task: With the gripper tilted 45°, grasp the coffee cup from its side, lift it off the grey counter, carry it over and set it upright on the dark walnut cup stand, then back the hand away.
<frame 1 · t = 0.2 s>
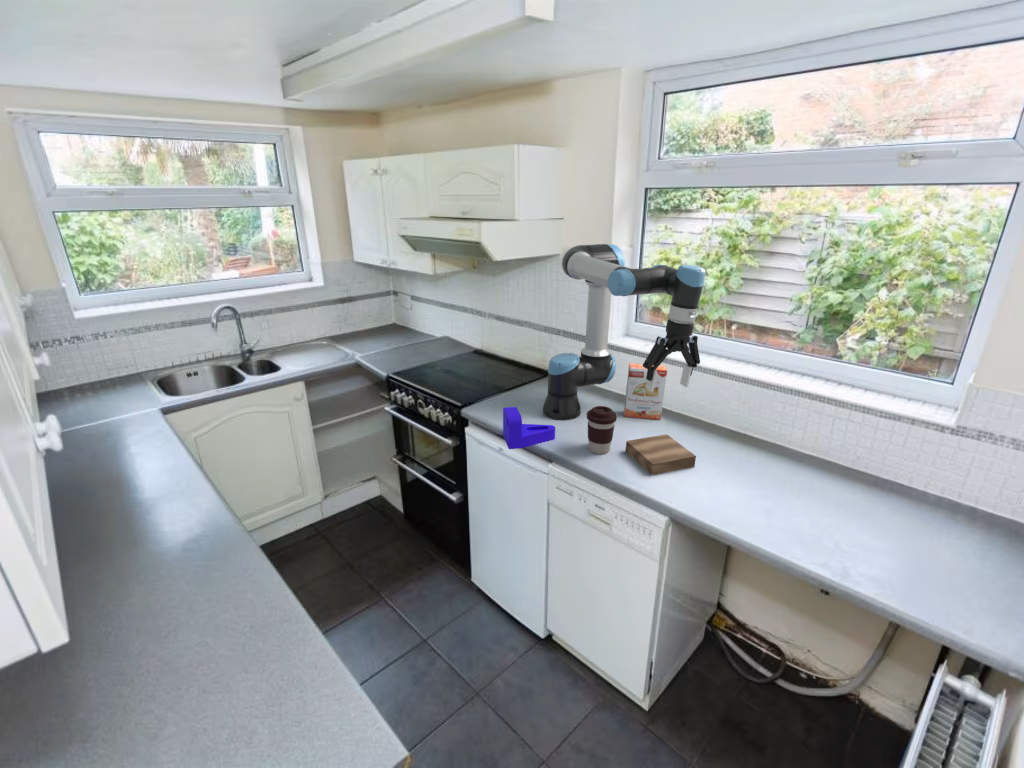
hand: (666, 387, 154), 27 cm above the table, tool pointing down, fingers open, 13 cm apart
bracket: (530, 440, 180), on the table
cracker box: (642, 416, 199), on the table
coffee cup: (598, 449, 174), on the table
cup stand: (658, 458, 168), on the table
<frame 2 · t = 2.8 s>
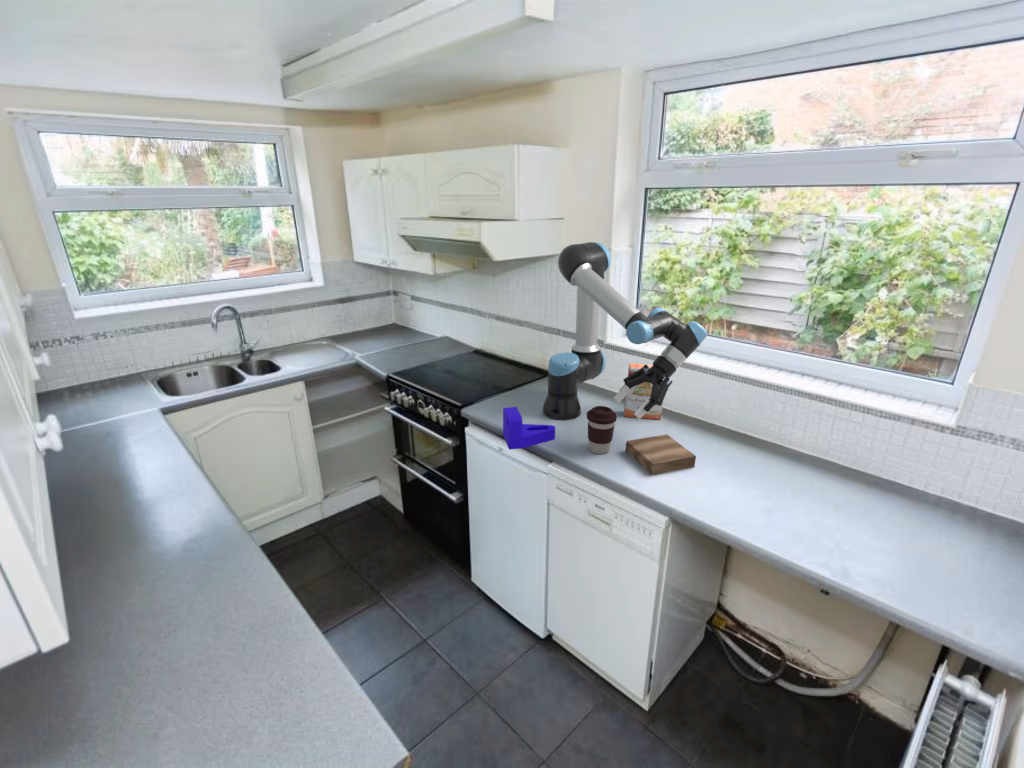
hand: (625, 408, 170), 15 cm above the table, tool tilted 45°, fingers open, 13 cm apart
nothing on the table moved.
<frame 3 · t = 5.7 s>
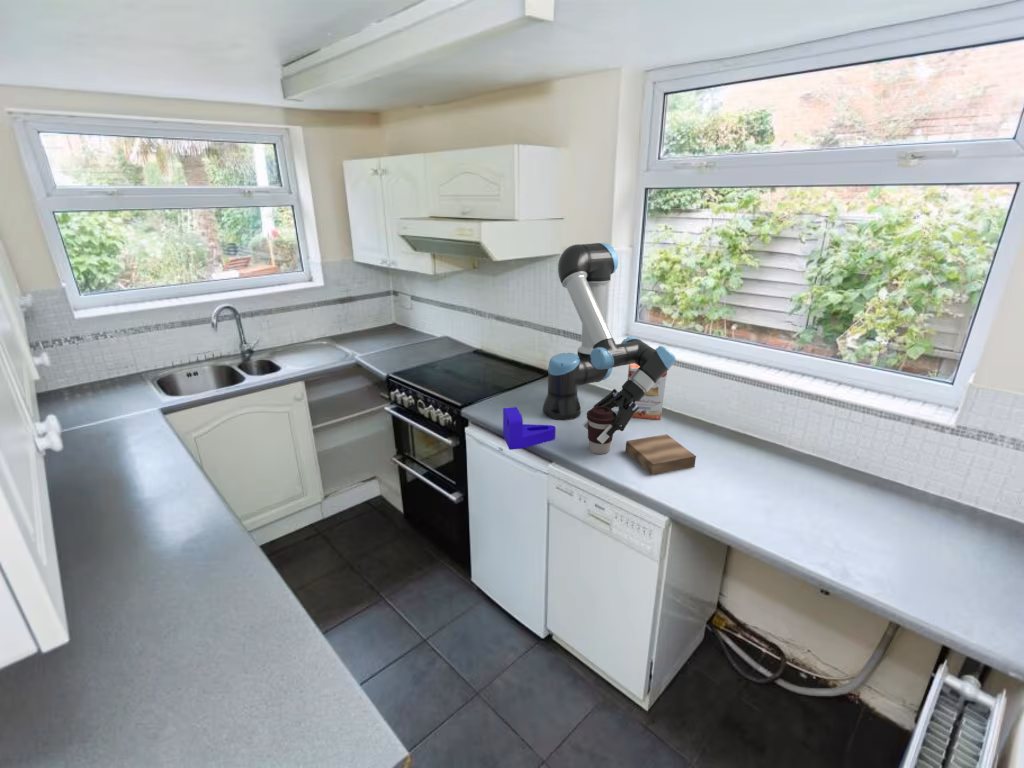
hand: (592, 434, 171), 6 cm above the table, tool tilted 45°, fingers closed on coffee cup, 10 cm apart
coffee cup: (599, 449, 174), on the table, touching gripper
everything else where it was.
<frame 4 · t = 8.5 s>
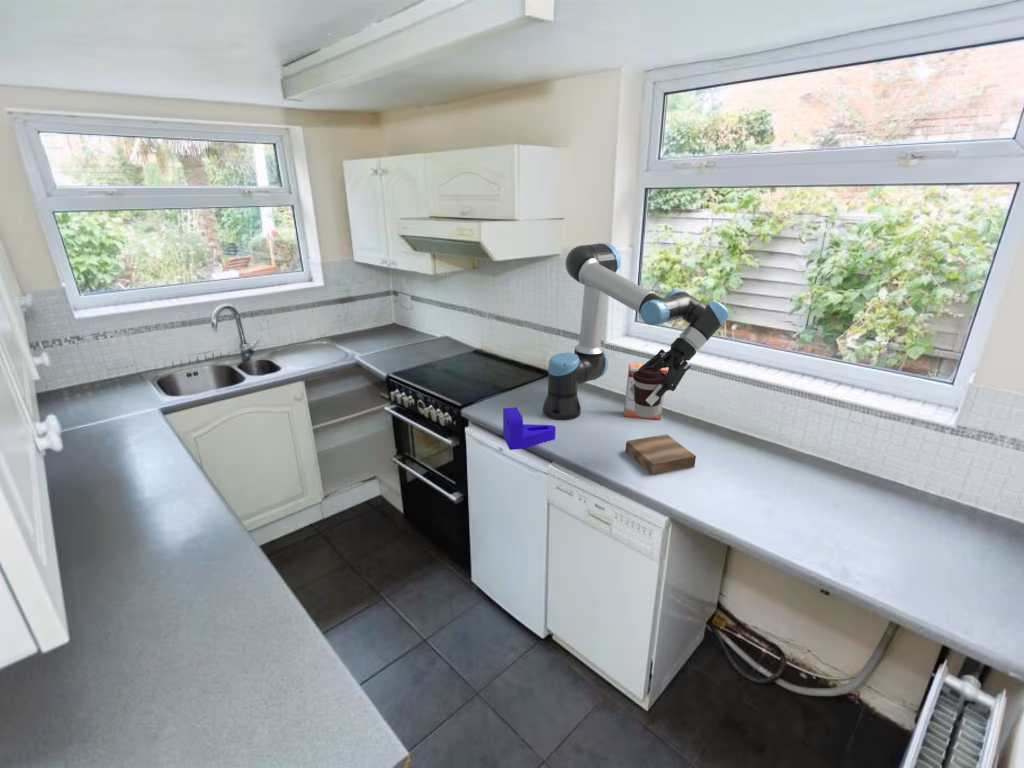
hand: (639, 396, 160), 22 cm above the table, tool tilted 45°, fingers closed on coffee cup, 10 cm apart
coffee cup: (646, 414, 163), point 16 cm above the table, touching gripper
everything else where it was.
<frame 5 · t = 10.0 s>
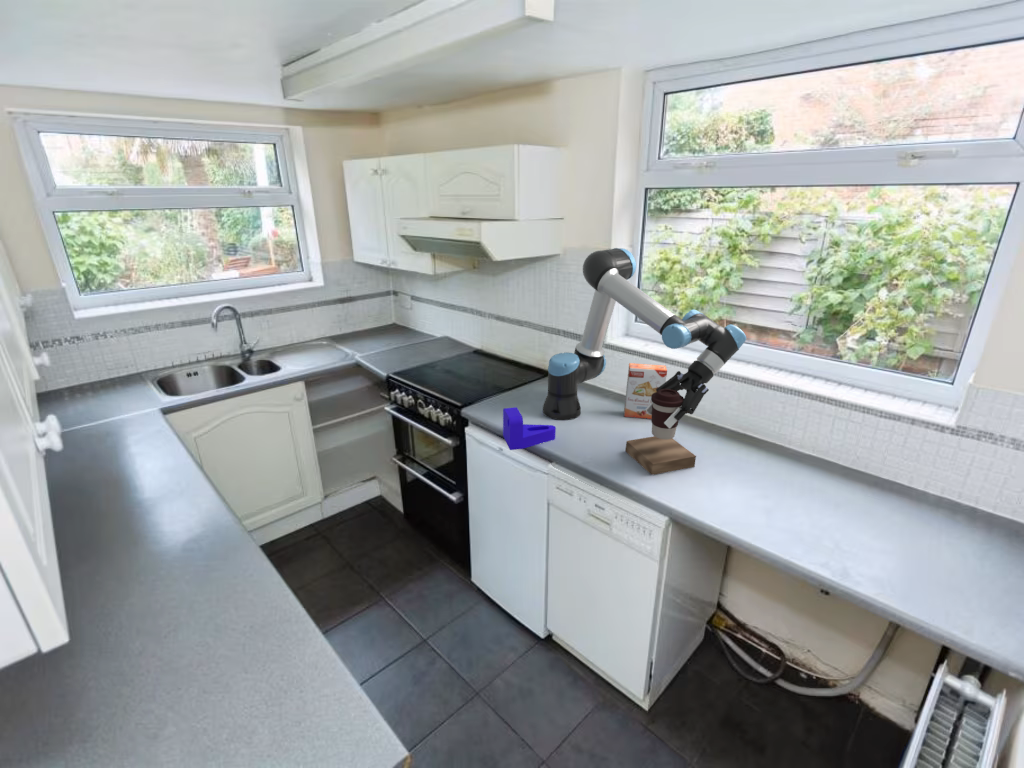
hand: (657, 418, 161), 15 cm above the table, tool tilted 45°, fingers closed on coffee cup, 10 cm apart
coffee cup: (663, 435, 164), point 9 cm above the table, touching gripper
everything else where it was.
when the fingers open (12 cm above the table, at t = 11.2 s): coffee cup drops 1 cm, resting on cup stand.
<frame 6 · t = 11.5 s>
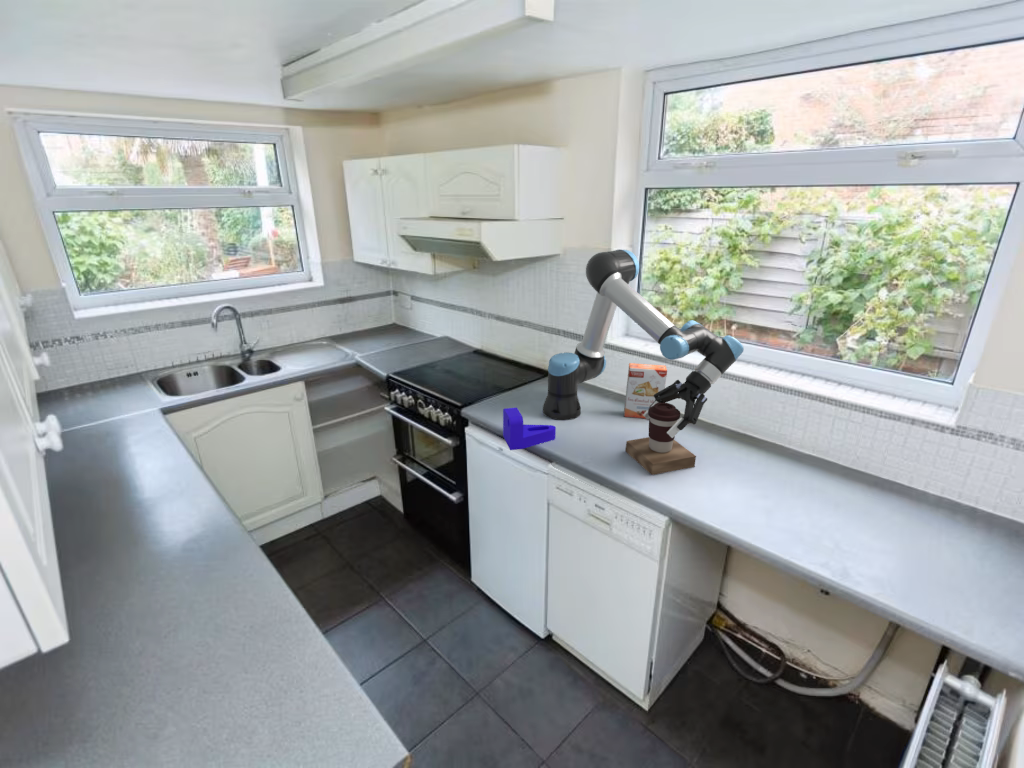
hand: (657, 426, 163), 12 cm above the table, tool tilted 45°, fingers open, 13 cm apart
coffee cup: (660, 448, 167), point 4 cm above the table, touching cup stand
everything else where it was.
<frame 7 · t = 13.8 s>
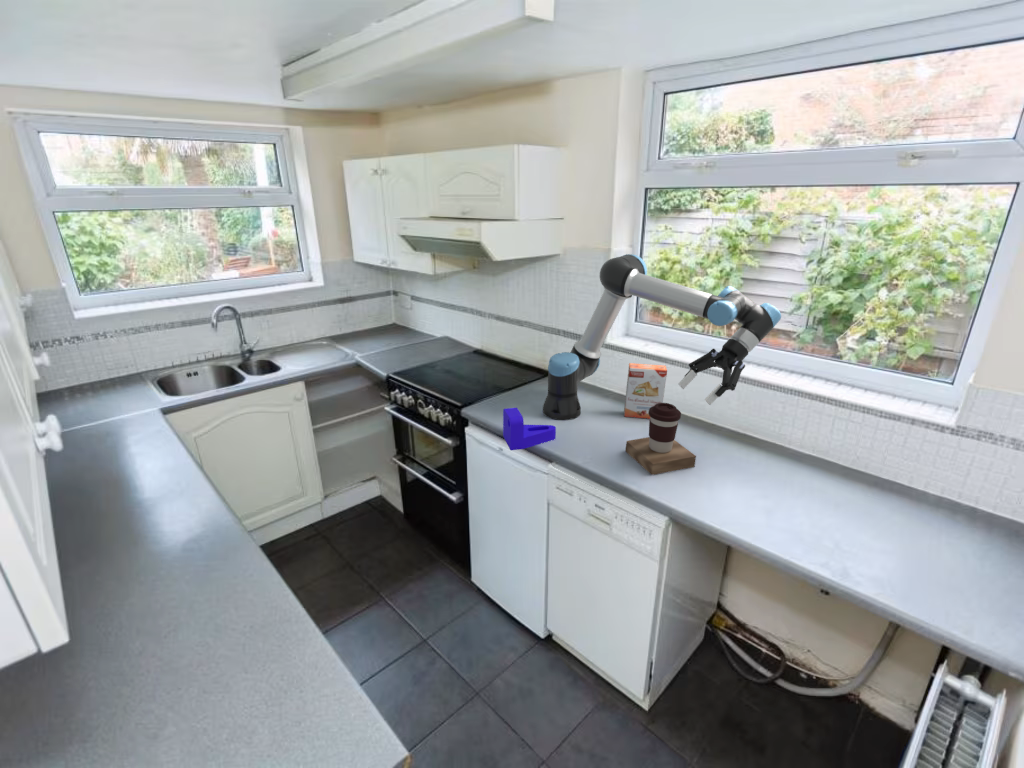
hand: (693, 394, 163), 22 cm above the table, tool tilted 45°, fingers open, 13 cm apart
nothing on the table moved.
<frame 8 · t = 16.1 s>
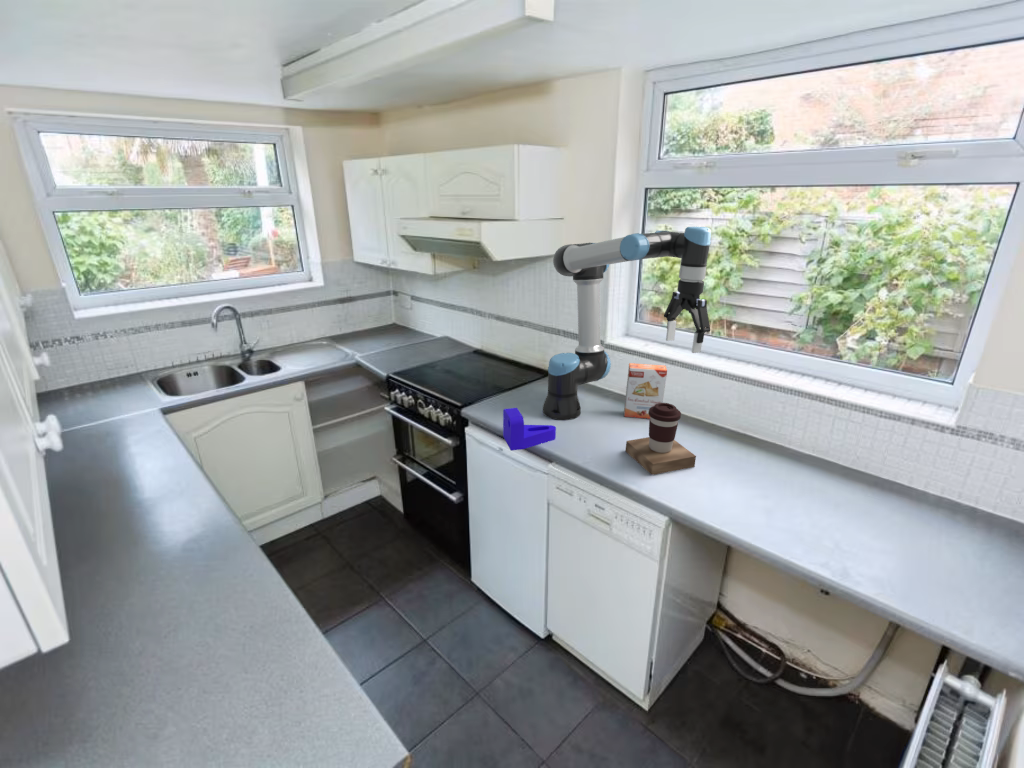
hand: (682, 346, 162), 37 cm above the table, tool pointing down, fingers open, 13 cm apart
nothing on the table moved.
at the end: coffee cup inside the target area on the cup stand (0.1 cm from its centre), point 3.8 cm above the cup stand's base; coffee cup tilted 0°; the gripper is holding nothing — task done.
